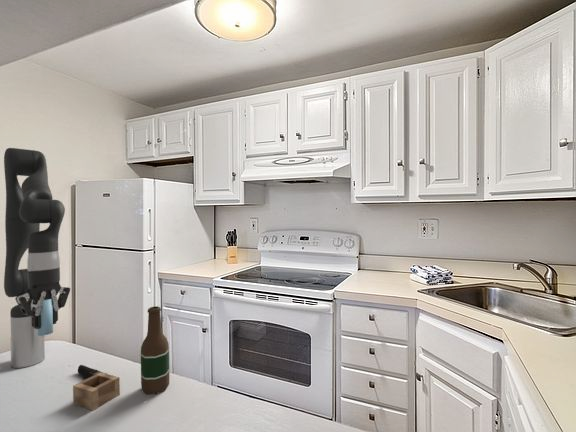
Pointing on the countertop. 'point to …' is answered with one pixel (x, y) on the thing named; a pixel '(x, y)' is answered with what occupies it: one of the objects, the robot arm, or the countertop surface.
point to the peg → (46, 318)
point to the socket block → (96, 391)
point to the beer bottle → (154, 356)
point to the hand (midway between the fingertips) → (45, 325)
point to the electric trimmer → (87, 371)
